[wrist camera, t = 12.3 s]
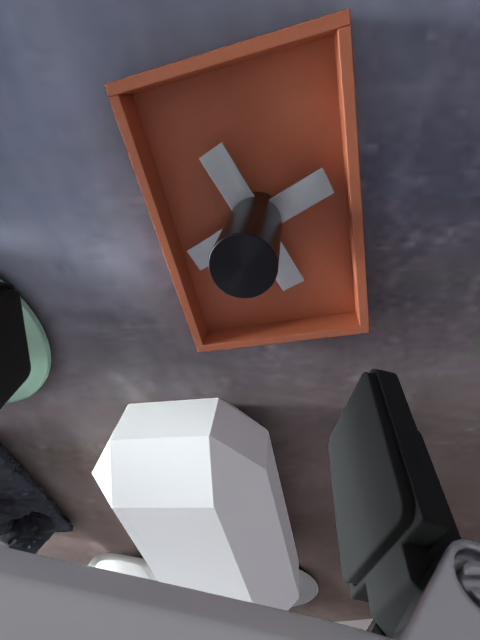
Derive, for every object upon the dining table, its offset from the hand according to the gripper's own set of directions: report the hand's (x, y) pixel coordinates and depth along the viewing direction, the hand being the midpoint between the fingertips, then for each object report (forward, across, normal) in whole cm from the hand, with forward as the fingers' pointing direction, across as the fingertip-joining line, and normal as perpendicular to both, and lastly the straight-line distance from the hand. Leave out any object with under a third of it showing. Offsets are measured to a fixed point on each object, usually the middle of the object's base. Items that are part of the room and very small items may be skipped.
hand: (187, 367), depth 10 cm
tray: (+16, -1, 0) cm, 16 cm away
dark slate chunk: (+16, +23, +39) cm, 48 cm away
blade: (+16, -1, 0) cm, 16 cm away
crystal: (+16, -3, +28) cm, 33 cm away
